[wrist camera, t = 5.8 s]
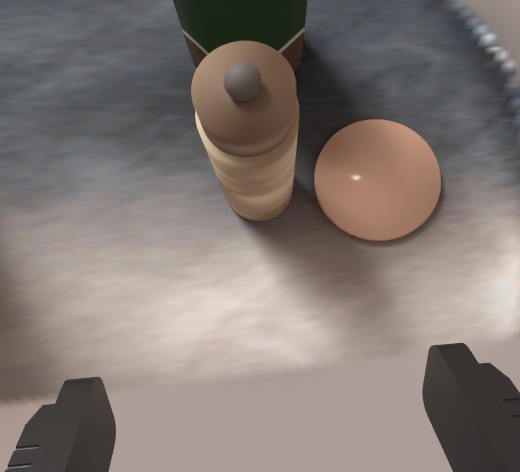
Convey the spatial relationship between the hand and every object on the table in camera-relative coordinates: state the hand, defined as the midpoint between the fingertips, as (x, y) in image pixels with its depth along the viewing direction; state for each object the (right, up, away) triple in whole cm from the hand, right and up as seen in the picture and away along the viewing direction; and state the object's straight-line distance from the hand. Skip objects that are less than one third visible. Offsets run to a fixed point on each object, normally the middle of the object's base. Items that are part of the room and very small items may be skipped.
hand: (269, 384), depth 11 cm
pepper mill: (0, +7, +19) cm, 20 cm away
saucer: (+7, +7, +19) cm, 21 cm away
